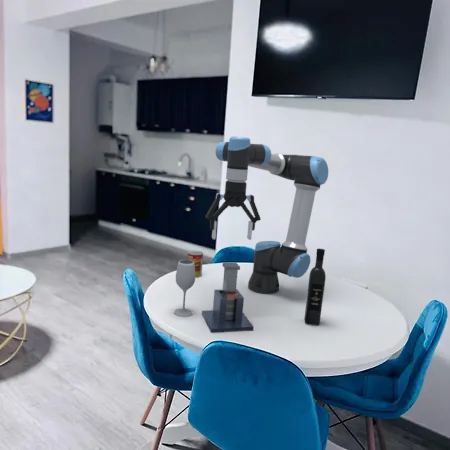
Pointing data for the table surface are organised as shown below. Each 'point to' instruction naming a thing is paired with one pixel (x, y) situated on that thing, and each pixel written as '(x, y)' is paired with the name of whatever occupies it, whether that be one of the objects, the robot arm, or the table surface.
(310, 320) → the wine bottle
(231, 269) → the column
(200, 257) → the canned food
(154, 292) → the table surface
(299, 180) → the robot arm
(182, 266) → the wineglass
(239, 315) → the stand
